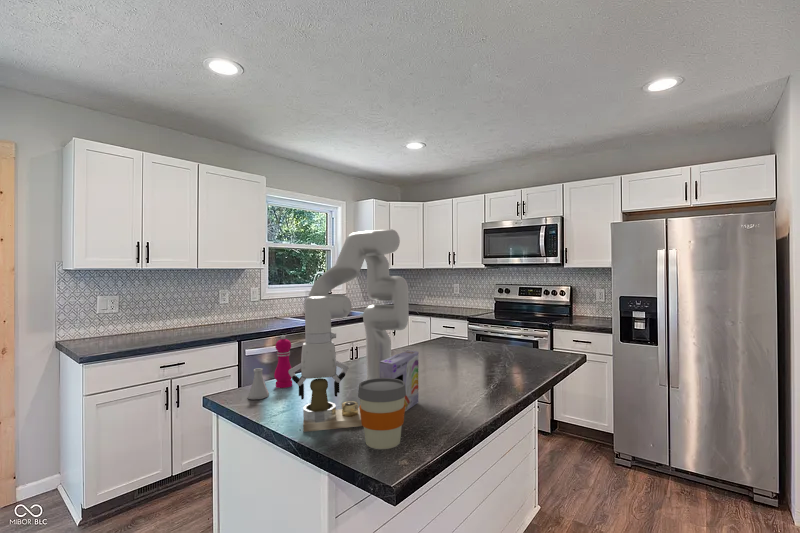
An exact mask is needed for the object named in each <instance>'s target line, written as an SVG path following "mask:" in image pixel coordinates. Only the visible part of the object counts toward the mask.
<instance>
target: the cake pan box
mask: <svg viewBox="0 0 800 533" xmlns="http://www.w3.org/2000/svg"><path fill="white" fill-rule="evenodd" d="M380 378H393V379H399V380H402V381H403V382H404V383H405V389H406V396H405V399H404V404H405V413H406V412H407V411H408V410H410V409H411V408H413V407H414V406H415V405H417V404H418V403H419V351H416V350H409V349H408V350H407V349H406V350H405V351H402V352H400V353H397V354H394V355H391V357H390V358H388V359H385V360H383V361H380Z"/></svg>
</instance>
